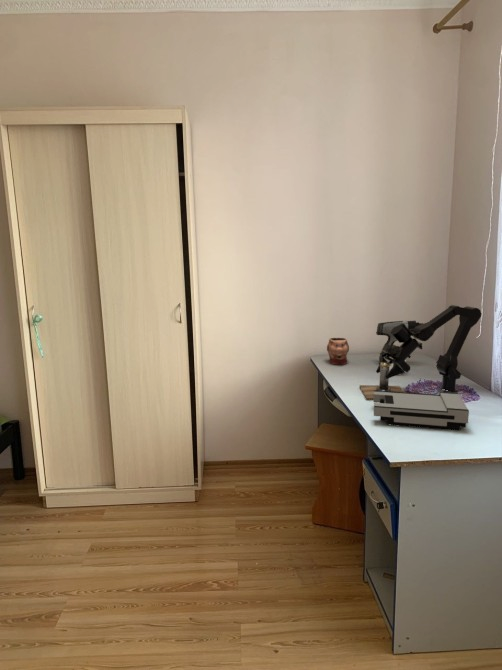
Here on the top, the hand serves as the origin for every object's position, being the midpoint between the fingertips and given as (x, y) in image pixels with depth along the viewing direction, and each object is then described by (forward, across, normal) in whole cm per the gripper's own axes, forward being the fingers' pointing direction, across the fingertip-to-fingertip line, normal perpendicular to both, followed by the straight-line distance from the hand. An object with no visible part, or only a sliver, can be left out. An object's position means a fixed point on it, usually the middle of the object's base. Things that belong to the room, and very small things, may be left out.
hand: (381, 375), depth 204 cm
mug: (-9, -30, +21) cm, 38 cm away
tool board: (+5, 0, +7) cm, 9 cm away
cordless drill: (-17, -47, +30) cm, 58 cm away
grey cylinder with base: (+4, 0, +6) cm, 8 cm away
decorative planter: (+5, -58, +8) cm, 59 cm away
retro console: (+6, +30, +7) cm, 31 cm away
